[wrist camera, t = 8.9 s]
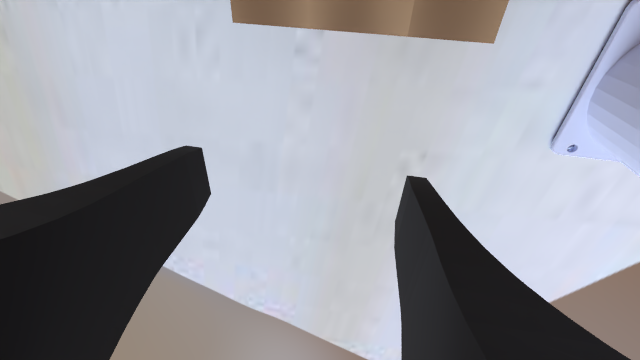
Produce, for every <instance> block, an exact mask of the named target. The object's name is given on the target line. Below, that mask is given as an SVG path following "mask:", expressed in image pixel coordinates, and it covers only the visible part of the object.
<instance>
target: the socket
mask: <svg viewBox="0 0 640 360" xmlns="http://www.w3.org/2000/svg"><path fill="white" fill-rule="evenodd" d="M230 1H231V10H232V19H233V23H246V24H258V25H271V26H283V27H295V28H308V29H320V30H332V31H345V32H357V33H370V34H382V35H394V36H407V37H419V38H431V39H444V40H456V41H469V42H481V43H493V44H494V41H495V38H496V36H497V33H498V30H499V27H500V24H501V21H502V18H503V16H504V13H505V10H506V7H507V4H508V1H509V0H230Z"/></svg>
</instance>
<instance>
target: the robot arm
mask: <svg viewBox="0 0 640 360" xmlns="http://www.w3.org/2000/svg"><path fill="white" fill-rule="evenodd" d="M571 145H574V147H573V148H571V149H567V148H568V147H569V146H571ZM550 147H551V150H552V151H553V152H554V153H555V154H558V155H565V156H574V157H582V158H590V159H599V160H607V161H615V162H621V163H622V164H624V165H625V166H626V167H627V168H629V169H630V170H631V171H632V172H634V173H635V174H636V175H637V176H639V177H640V0H633V1H632V2H631V3H629V5H628V6H627V7H626V9H625V11H624V13H623V14H622V16H621V18H620V20H619V22H618V23H617V25H616V27H615V29H614V31H613V32H612V34H611V36H610V38H609V40H608V42H607V43H606V45H605V47H604V49H603V51H602V52H601V54H600V56H599V58H598V60H597V62H596V63H595V65H594V67H593V69H592V71H591V72H590V74H589V76H588V78H587V80H586V82H585V83H584V85H583V87H582V89H581V91H580V92H579V94H578V96H577V98H576V100H575V102H574V103H573V105H572V107H571V109H570V111H569V112H568V114H567V116H566V118H565V120H564V122H563V123H562V125H561V127H560V129H559V131H558V132H557V134H556V136H555V138H554V140H553V141H552V143H551V146H550ZM210 195H211V191H210V186H209V181H208V176H207V171H206V166H205V161H204V156H203V151H202V148H199V147H192V146H183V147H179V148H176V149H173V150H170V151H168V152H165V153H162V154H160V155H157V156H155V157H152V158H149V159H147V160H144V161H142V162H139V163H137V164H134V165H131V166H129V167H126V168H124V169H121V170H118V171H115V172H113V173H110V174H107V175H104V176H102V177H99V178H96V179H93V180H90V181H87V182H84V183H81V184H78V185H75V186H72V187H68V188H65V189H61V190H58V191H54V192H51V193H47V194H43V195H39V196H35V197H31V198H26V199H22V200H18V201H14V202H10V203H5V204H1V205H0V360H109V359H110V357H111V355H112V354H113V352H114V349H115V348H116V346H117V344H118V342H119V340H120V338H121V336H122V334H123V332H124V330H125V328H126V326H127V324H128V323H129V321H130V319H131V317H132V315H133V314H134V312H135V310H136V308H137V306H138V304H139V303H140V301H141V299H142V298H143V296H144V294H145V292H146V291H147V289H148V287H149V286H150V284H151V282H152V281H153V279H154V277H155V276H156V274H157V273H158V271H159V270H160V268H161V267H162V266H163V264H164V263H165V261H166V260H167V259H168V257H169V256H170V255H171V253H172V252H173V251H174V249H175V248H176V247H177V245H178V244H179V243H180V241H181V240H182V239H183V237H184V236H185V235H186V233H187V232H188V231H189V229H190V228H191V227H192V225H193V224H194V223H195V221H196V220H197V218H198V217H199V215H200V214H201V212H202V210H203V208H204V207H205V205H206V203H207V201H208V199H209V197H210ZM394 248H395V259H396V269H397V279H398V288H399V298H400V307H401V323H402V360H630V359H629V358H627V357H626V356H624V355H622V354H621V353H619V352H618V351H616V350H615V349H613V348H611V347H610V346H609V345H607V344H606V343H604V342H603V341H601V340H600V339H598V338H597V337H595V336H594V335H592V334H591V333H590V332H588V331H587V330H585V329H584V328H583V327H581V326H580V325H578V324H577V323H575V322H574V321H573V320H571V319H570V318H568V317H567V316H566V315H564V314H563V313H562V312H560V311H559V310H558V309H556V308H555V307H553V306H552V305H551V304H549V303H548V302H547V301H546V300H544V299H543V298H542V297H541V296H539V295H538V294H537V293H536V292H534V291H533V290H532V289H531V288H529V287H528V286H527V285H526V284H524V283H523V282H522V281H521V280H520V279H518V278H517V277H516V276H515V275H514V274H512V273H511V272H510V271H509V270H508V269H507V268H506V267H505V266H504V265H503V264H501V263H500V262H499V261H498V260H497V259H496V258H495V257H494V256H493V255H492V254H491V253H490V252H489V251H488V250H486V249H485V248H484V247H483V246H482V245H481V244H480V242H479V241H478V240H477V239H476V238H475V237H474V236H473V235H472V234H471V233H470V232H469V231H468V230H467V229H466V227H465V226H464V225H463V224H462V223H461V222H460V221H459V219H458V218H457V217H456V216H455V215H454V213H453V212H452V211H451V210H450V208H449V207H448V206H447V205H446V203H445V202H444V201H443V200H442V198H441V197H440V196H439V194H438V193H437V192H436V190H435V189H434V188H433V186H432V185H431V184H430V182H429V181H428V180H427V178H422V177H414V176H407V178H406V182H405V186H404V189H403V193H402V197H401V201H400V205H399V209H398V213H397V217H396V220H395V245H394Z"/></svg>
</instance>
